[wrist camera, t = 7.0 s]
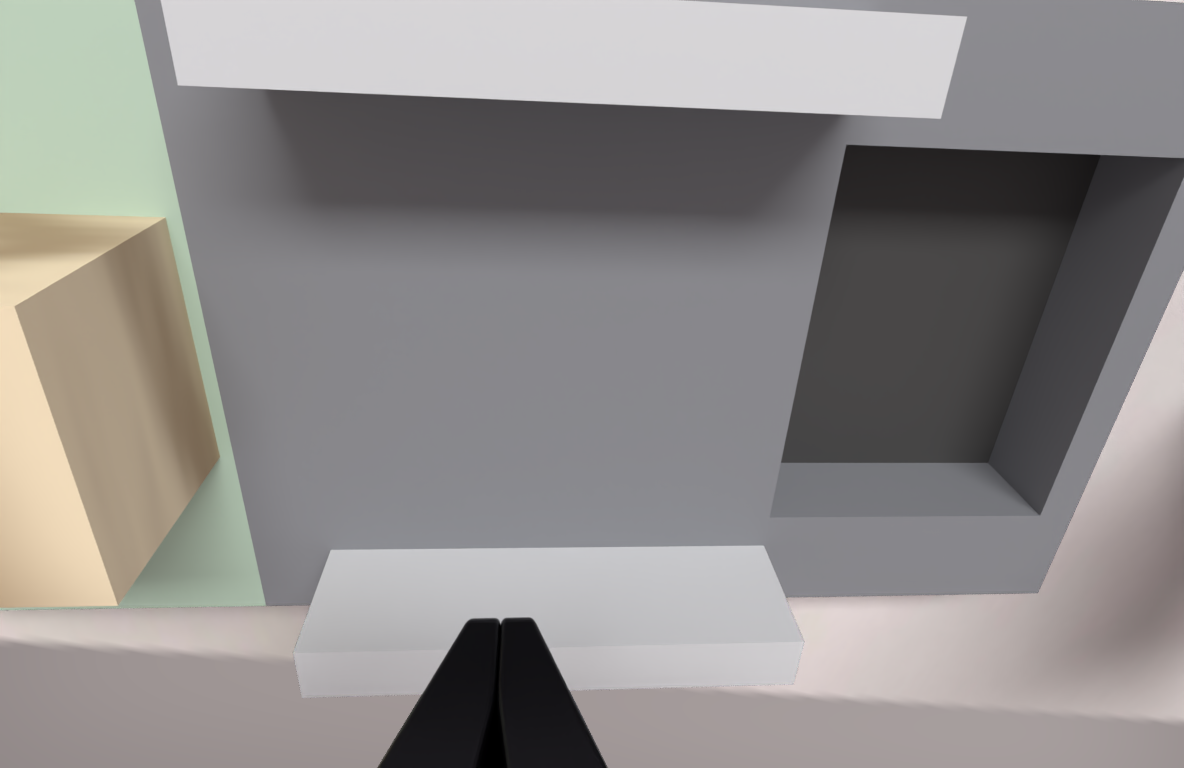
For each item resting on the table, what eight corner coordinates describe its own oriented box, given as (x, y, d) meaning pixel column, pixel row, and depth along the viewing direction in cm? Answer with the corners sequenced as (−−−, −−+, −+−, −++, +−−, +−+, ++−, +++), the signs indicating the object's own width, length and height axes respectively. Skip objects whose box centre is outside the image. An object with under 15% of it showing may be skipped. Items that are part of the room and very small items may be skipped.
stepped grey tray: (1184, 8, 17) (1503, 11, 12) (984, 530, 25) (1118, 688, 19) (-326, -82, 15) (-882, -136, 9) (-41, 538, 22) (-243, 727, 16)
